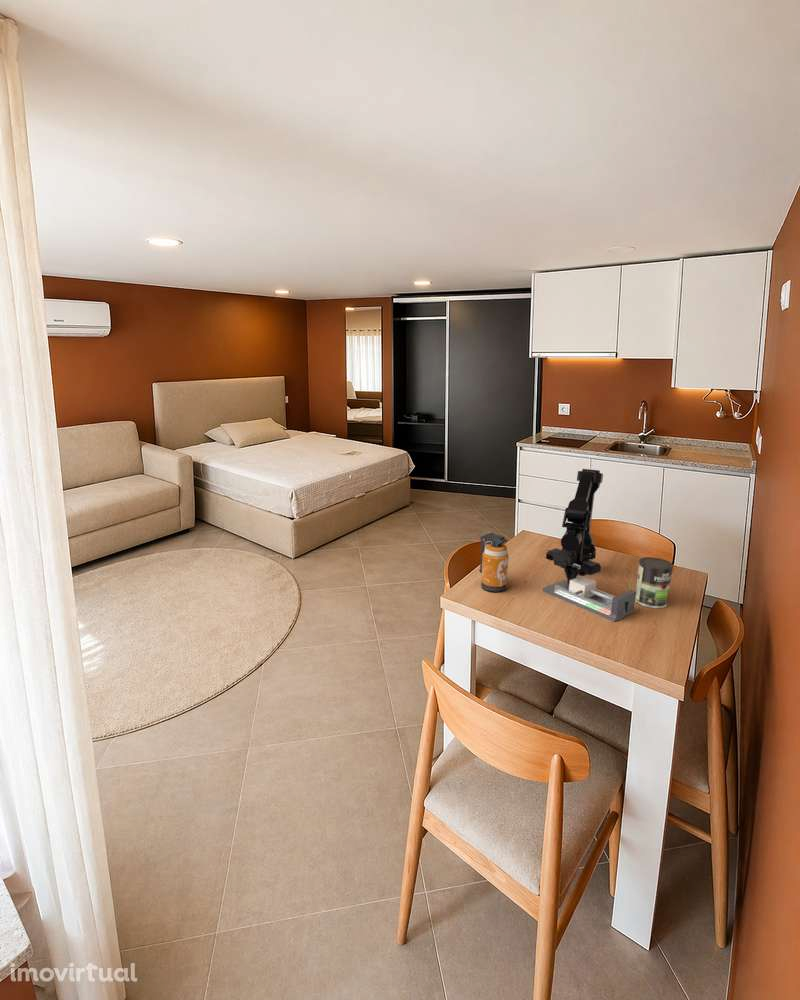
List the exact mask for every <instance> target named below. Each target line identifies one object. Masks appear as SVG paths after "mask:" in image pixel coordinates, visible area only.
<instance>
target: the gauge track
mask: <svg viewBox="0 0 800 1000" xmlns="http://www.w3.org/2000/svg"><path fill="white" fill-rule="evenodd" d="M596 591H597V592H600V593H602V594H605V595H607V596H610V597H612V601H610V600H607V599H605V598H602V597H600V596H597V595H594V596H592V597H589V598H588V597H586V596H583V595H581V594H575V592H573V591H571V590H569V583H568V580H567V579H562V580H560V581H556V582H555V583H552V584H549V585H547V586H543V587H542V592H544V593H546V594H548V595H551V596H554V597H555V598H558V599H560V600H562V601H565V602H566V603H569V604H571V605H574V606H576V607H578V608H581V609H583V610H586V611H588V612H589V613H593V614H595V615H598V616H600V617H602V618H604V619H606V620H609V621H611V622H617V621H619V620H620V619H623V618H625V617H626V616H629V615H631V614H633V613H635V612H636V609H637V607H635V605H636V604H635V603H636V601H635V598H636V590H632V589H628V590H627V591H625V592H622V593H620V594H618V595H613V594H610V593H608V592H606V591H602V590H600V589H598V588H596Z"/></svg>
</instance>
